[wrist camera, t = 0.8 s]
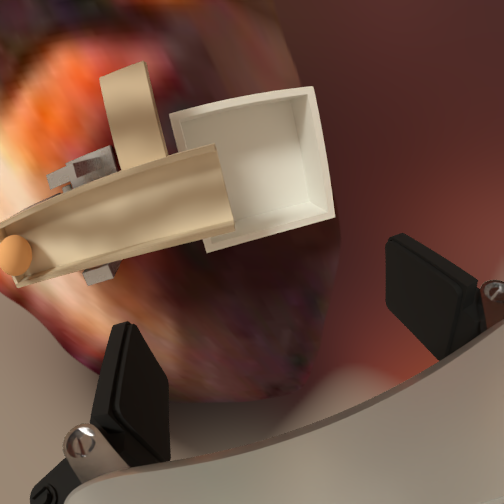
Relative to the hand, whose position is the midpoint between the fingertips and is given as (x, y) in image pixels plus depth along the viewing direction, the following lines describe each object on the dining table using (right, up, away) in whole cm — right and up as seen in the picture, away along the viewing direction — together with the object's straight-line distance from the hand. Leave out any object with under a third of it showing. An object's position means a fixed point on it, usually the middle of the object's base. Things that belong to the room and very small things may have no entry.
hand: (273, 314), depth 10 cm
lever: (-16, +11, +17) cm, 26 cm away
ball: (-24, +2, +12) cm, 27 cm away
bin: (-1, +13, +24) cm, 27 cm away
